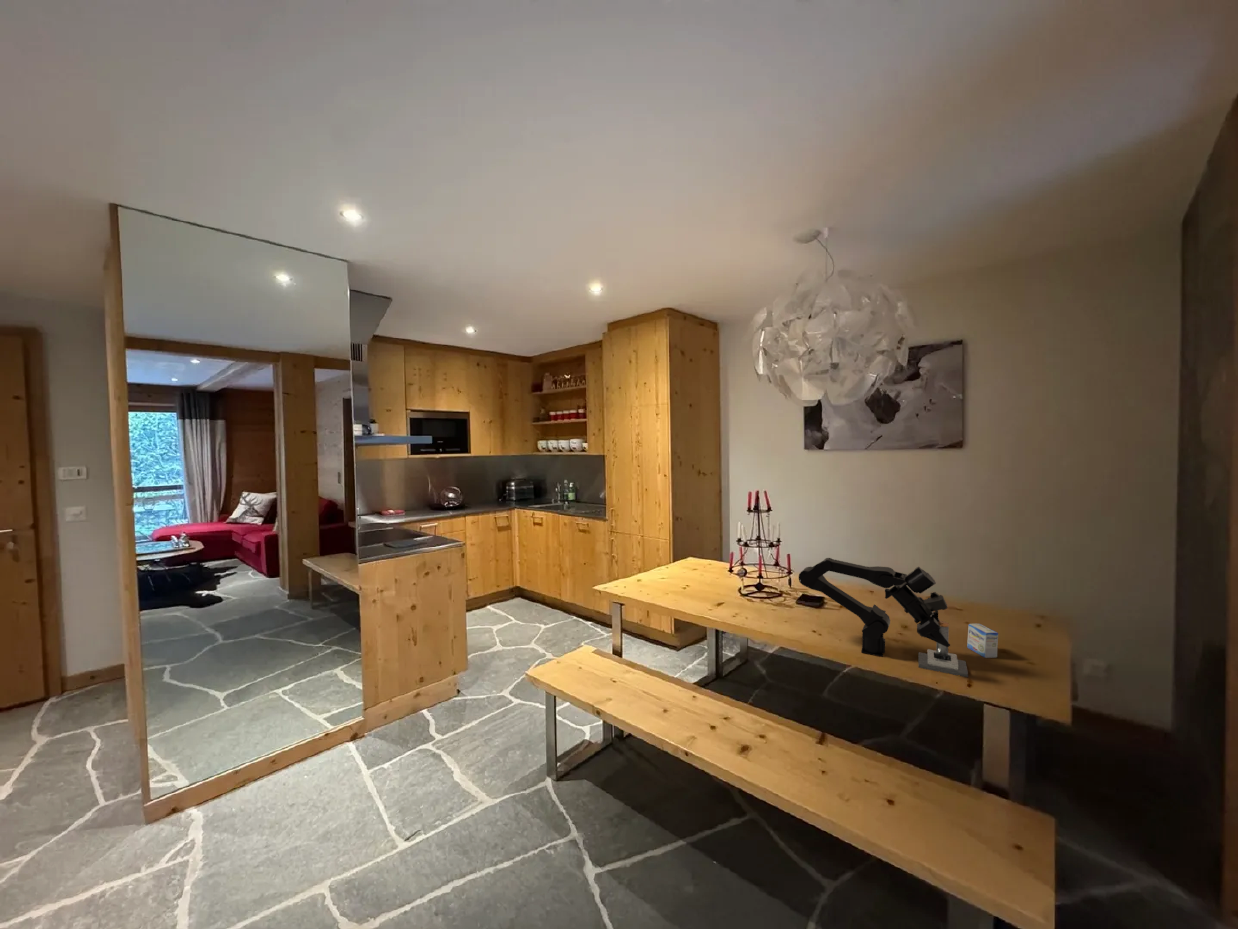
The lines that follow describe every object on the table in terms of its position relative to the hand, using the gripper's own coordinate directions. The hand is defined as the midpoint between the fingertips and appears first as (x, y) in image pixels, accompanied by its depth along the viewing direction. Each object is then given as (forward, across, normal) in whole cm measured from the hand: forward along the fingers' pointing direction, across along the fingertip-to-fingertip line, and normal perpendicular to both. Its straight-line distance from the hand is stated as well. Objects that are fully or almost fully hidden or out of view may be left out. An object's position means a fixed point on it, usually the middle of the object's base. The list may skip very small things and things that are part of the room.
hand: (948, 640), depth 158 cm
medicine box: (+14, +18, -1) cm, 22 cm away
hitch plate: (+5, 0, +7) cm, 9 cm away
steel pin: (+4, 0, +6) cm, 8 cm away
